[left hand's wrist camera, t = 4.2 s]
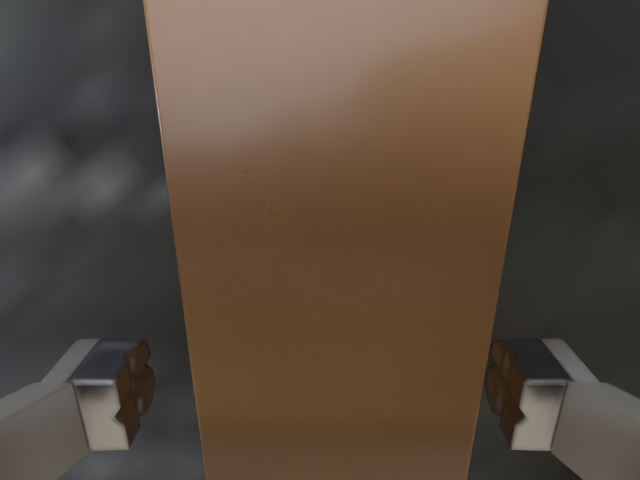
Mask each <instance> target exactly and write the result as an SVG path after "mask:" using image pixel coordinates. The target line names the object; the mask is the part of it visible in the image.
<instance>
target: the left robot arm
mask: <svg viewBox="0 0 640 480" xmlns="http://www.w3.org/2000/svg"><path fill="white" fill-rule="evenodd" d="M150 355H151V354H150V349H149V345H148V342H147V341H146V340H145V339H106V338H103V339H101V338H82V339H79V340H77V341H76V342H75V343H74V344H73V345H72V346H71V347H70V348H69V350H68V351H67V352H66V353H65V354H64V355H63V356H62V358H61V359H60V360H59V361H58V362H57V363H56V364H55V366H54V367H53V368H52V369H51V370H50V371H49V372H48V374H47V375H46V376H45V377H44V378H43V379H42V381H41V382H33V383H31V384H29V385H27V386H25V387H23V388H21V389H19V390H17V391H15V392H13V393H11V394H9V395H7V396H5V397H3V398H1V399H0V480H57V479H59V478H60V477H61V476H62V475H63V474H65V473H66V472H67V471H68V470H69V469H70V468H72V467H73V466H74V465H75V464H76V463H78V462H79V461H80V460H81V459H82V458H84V457H85V456H86V455H87V454H88V453H89V451H96V450H129V448H130V446H131V444H132V442H133V440H134V438H135V436H136V434H137V432H138V430H139V428H140V422H139V417H140V416H142V415H143V414H144V413H146V412H147V411H148V409H149V407H150V405H151V403H152V399H153V394H154V390H155V379H154V372H153V370H152V369H151V368H150V367H149V366H148V365H147V364H146V362H147V360H148V358H149V357H150ZM489 355H490V357H491V358H492V360H493V362H494V364H493V365H492V366H491V367H490V368H489V369H488V370H487V372H486V380H485V386H486V396H487V399H488V403H489V405H490V407H491V409H492V411H493V412H494V413H496V414H497V415H498V416H500V417H501V422H500V428H501V430H502V432H503V434H504V436H505V438H506V440H507V442H508V444H509V446H510V448H511V450H544V451H551V453H552V454H553V455H554V456H555V457H557V458H558V459H559V460H560V461H561V462H563V463H564V464H565V465H566V466H567V467H569V468H570V469H571V470H572V471H573V472H574V473H576V474H577V475H578V476H579V477H580V478H582V479H583V480H640V399H639V398H637V397H635V396H633V395H631V394H629V393H627V392H625V391H623V390H621V389H619V388H617V387H615V386H613V385H611V384H609V383H607V382H599V381H598V379H597V378H596V377H595V376H594V375H593V374H592V373H591V371H590V370H589V369H588V368H587V367H586V366H585V364H584V363H583V362H582V361H581V360H580V359H579V358H578V356H577V355H576V354H575V353H574V352H573V351H572V350H571V348H570V347H569V346H568V345H567V344H566V343H565V342H564V341H563V340H561V339H559V338H545V339H517V340H494V341H493V343H492V345H491V349H490V354H489Z"/></svg>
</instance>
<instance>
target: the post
mask: <svg viewBox="0 0 640 480" xmlns="http://www.w3.org/2000/svg"><path fill="white" fill-rule="evenodd" d="M548 1H549V0H143V6H144V13H145V21H146V29H147V36H148V44H149V51H150V59H151V67H152V74H153V82H154V90H155V97H156V105H157V113H158V120H159V128H160V136H161V143H162V151H163V159H164V166H165V174H166V181H167V189H168V197H169V204H170V212H171V220H172V227H173V235H174V243H175V250H176V258H177V266H178V273H179V281H180V289H181V296H182V304H183V311H184V319H185V327H186V334H187V342H188V350H189V357H190V365H191V373H192V380H193V388H194V396H195V403H196V411H197V419H198V426H199V434H200V441H201V449H202V457H203V464H204V472H205V480H467V477H468V471H469V466H470V460H471V454H472V448H473V442H474V436H475V430H476V424H477V419H478V413H479V407H480V401H481V395H482V389H483V383H484V377H485V372H486V366H487V360H488V354H489V348H490V342H491V336H492V330H493V324H494V319H495V313H496V307H497V301H498V295H499V289H500V283H501V277H502V272H503V266H504V260H505V254H506V248H507V242H508V236H509V230H510V225H511V219H512V213H513V207H514V201H515V195H516V189H517V183H518V178H519V172H520V166H521V160H522V154H523V148H524V142H525V136H526V131H527V125H528V119H529V113H530V107H531V101H532V95H533V89H534V84H535V78H536V72H537V66H538V60H539V54H540V48H541V42H542V36H543V31H544V25H545V19H546V13H547V7H548Z"/></svg>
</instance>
